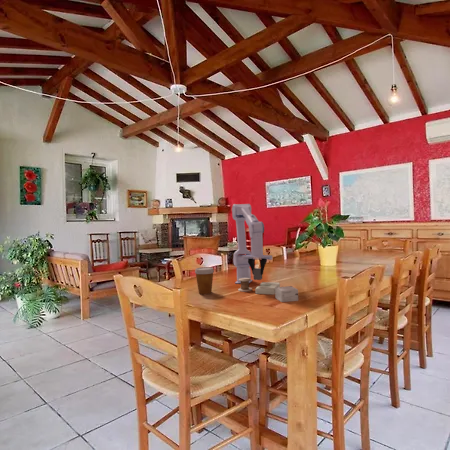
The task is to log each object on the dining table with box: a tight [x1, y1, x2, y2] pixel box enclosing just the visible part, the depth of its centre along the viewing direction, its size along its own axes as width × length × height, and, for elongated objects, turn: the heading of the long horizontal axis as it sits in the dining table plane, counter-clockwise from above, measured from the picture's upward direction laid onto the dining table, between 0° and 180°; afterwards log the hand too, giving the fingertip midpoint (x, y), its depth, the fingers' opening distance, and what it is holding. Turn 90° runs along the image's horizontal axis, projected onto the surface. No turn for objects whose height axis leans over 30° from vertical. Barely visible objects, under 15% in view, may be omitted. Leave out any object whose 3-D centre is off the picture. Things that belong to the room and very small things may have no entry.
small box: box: [274, 285, 299, 303], centre depth 145 cm, size 8×8×5 cm
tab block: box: [252, 267, 263, 281], centre depth 162 cm, size 4×4×5 cm
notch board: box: [254, 281, 281, 295], centre depth 163 cm, size 16×9×2 cm, turn 162°
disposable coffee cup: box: [194, 266, 215, 295], centre depth 163 cm, size 10×10×12 cm
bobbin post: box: [237, 278, 253, 292], centre depth 166 cm, size 7×7×6 cm
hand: (257, 274), depth 162 cm, fingers closed on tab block, 3 cm apart
